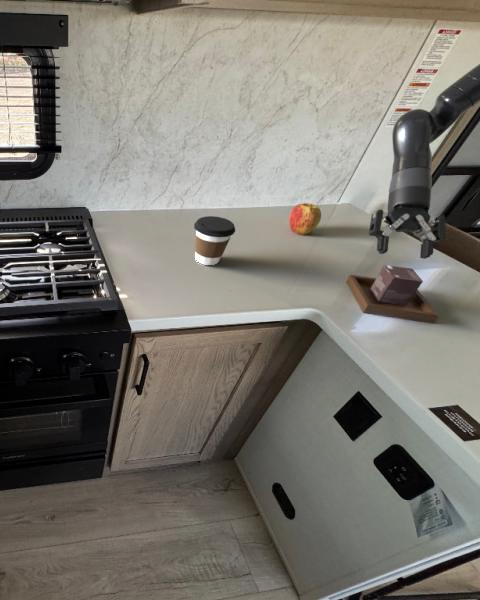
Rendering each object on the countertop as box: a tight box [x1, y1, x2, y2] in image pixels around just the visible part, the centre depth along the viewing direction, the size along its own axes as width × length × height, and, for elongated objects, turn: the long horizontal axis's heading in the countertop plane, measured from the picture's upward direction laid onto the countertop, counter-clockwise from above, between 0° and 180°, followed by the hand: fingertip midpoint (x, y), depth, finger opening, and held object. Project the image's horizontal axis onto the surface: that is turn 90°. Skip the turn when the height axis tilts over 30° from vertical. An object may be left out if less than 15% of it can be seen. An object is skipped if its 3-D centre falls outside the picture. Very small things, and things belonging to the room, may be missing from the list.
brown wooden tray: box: [345, 274, 440, 324], centre depth 85 cm, size 14×14×2 cm
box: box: [370, 264, 424, 306], centre depth 83 cm, size 6×6×7 cm
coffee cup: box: [193, 215, 236, 266], centre depth 99 cm, size 11×11×12 cm
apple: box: [288, 202, 322, 236], centre depth 114 cm, size 9×9×10 cm
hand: (404, 255), depth 82 cm, fingers open, 8 cm apart
